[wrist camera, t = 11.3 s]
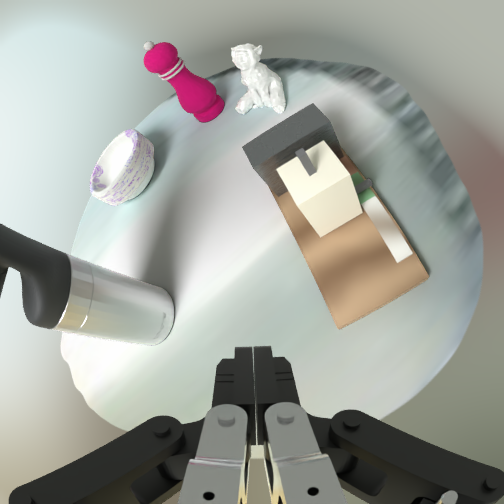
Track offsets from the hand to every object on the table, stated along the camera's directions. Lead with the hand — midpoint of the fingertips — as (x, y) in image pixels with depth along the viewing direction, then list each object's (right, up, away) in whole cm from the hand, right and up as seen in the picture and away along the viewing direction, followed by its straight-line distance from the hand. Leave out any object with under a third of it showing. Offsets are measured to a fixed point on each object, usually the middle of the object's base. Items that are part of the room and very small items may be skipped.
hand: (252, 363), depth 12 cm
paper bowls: (-23, +20, +45) cm, 54 cm away
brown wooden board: (+10, +8, +22) cm, 25 cm away
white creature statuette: (+3, +32, +35) cm, 47 cm away
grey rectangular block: (+7, +16, +25) cm, 30 cm away
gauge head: (+10, +10, +21) cm, 26 cm away
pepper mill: (-8, +32, +41) cm, 53 cm away
